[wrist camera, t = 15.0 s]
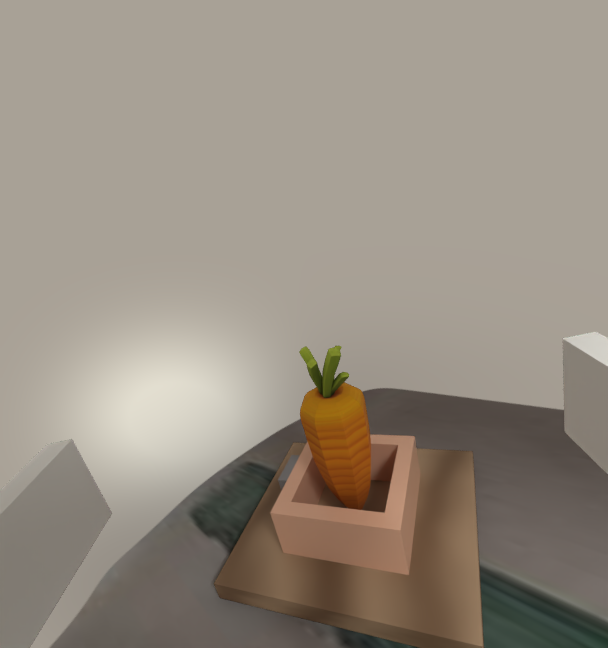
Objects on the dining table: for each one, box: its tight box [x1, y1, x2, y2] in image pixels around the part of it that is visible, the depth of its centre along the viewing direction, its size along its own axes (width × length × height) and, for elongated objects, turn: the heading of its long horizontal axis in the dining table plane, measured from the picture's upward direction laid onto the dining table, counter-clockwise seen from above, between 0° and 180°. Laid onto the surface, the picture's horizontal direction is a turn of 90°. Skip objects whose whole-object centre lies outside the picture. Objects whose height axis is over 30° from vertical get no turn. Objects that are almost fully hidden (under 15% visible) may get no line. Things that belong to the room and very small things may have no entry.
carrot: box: [300, 346, 371, 510], centre depth 29 cm, size 5×5×15 cm
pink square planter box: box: [270, 435, 420, 575], centre depth 31 cm, size 10×9×4 cm
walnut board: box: [214, 443, 484, 648], centre depth 32 cm, size 18×16×2 cm
